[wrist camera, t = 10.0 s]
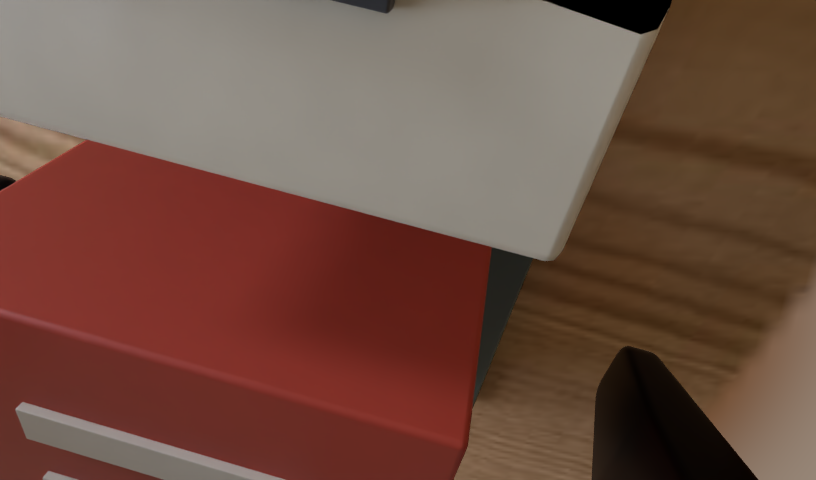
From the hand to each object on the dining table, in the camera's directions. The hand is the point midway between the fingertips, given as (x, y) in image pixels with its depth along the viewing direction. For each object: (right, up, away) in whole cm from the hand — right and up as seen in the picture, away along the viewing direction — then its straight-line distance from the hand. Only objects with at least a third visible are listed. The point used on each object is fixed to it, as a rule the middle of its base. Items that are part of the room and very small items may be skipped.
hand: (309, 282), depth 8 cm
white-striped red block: (0, 0, +1) cm, 1 cm away
